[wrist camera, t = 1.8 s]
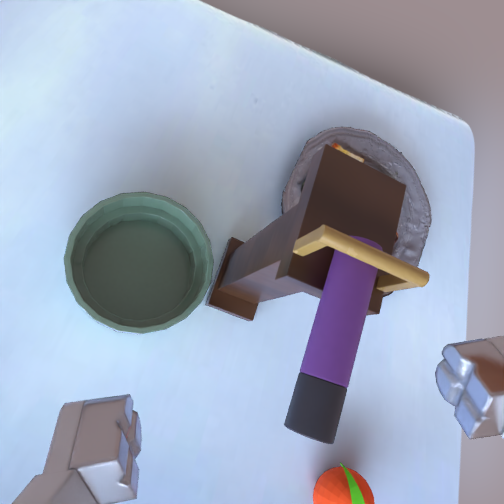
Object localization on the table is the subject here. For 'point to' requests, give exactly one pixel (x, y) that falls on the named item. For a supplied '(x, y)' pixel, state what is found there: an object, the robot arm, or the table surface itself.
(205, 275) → the bowl
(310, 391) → the glue stick
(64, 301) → the table surface
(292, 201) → the food plate
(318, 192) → the stand
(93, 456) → the robot arm
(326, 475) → the clementine
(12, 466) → the table surface
